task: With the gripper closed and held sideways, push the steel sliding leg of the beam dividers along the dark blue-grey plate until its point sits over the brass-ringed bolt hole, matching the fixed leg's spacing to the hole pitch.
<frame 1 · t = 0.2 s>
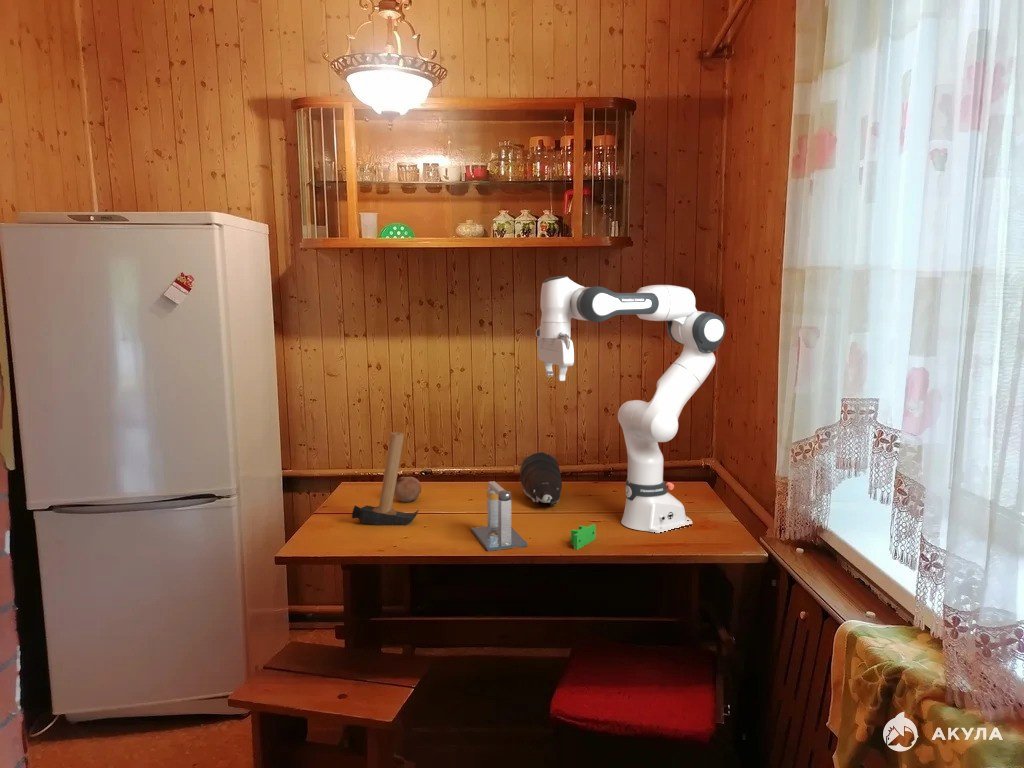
hand: (555, 378, 208), 48 cm above the table, tool pointing down, fingers open, 8 cm apart
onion: (407, 501, 249), on the table
sliding leg: (493, 509, 215), point 8 cm above the table, slide at 0.0 cm
bolt hole plate: (498, 538, 211), on the table
divider beam: (504, 545, 206), resting on bolt hole plate
pipe clamp: (581, 544, 208), on the table
dark brown oval body: (542, 501, 249), on the table
hammer: (385, 523, 225), on the table
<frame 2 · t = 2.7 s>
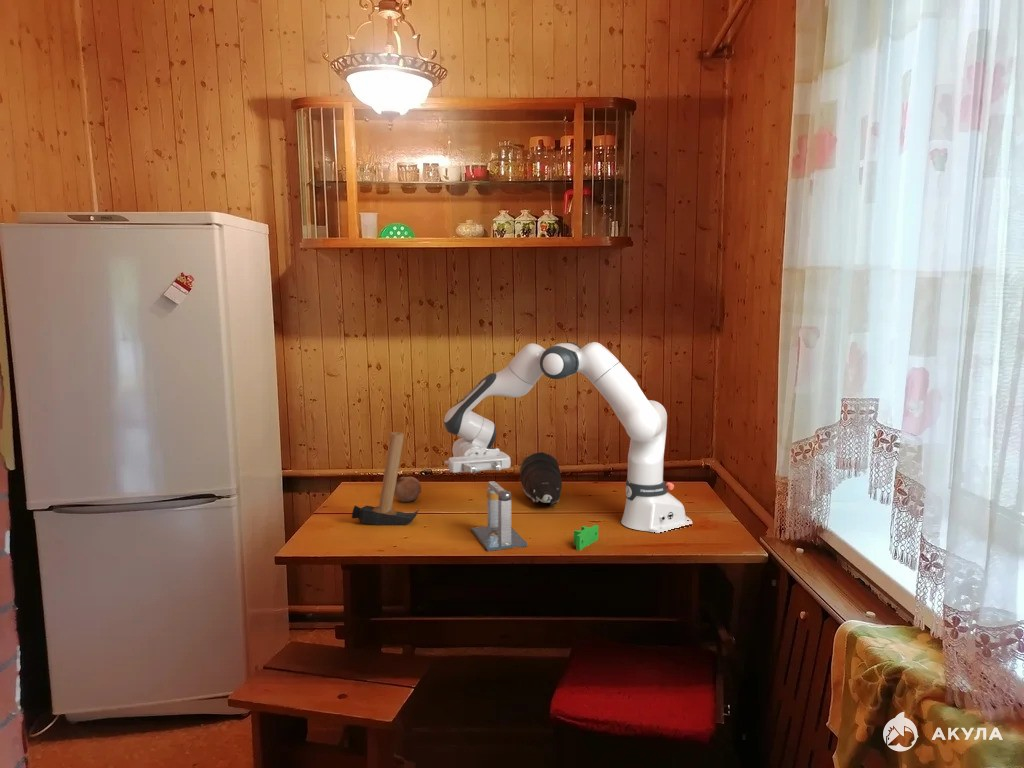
hand: (485, 469, 221), 18 cm above the table, tool horizontal, fingers open, 7 cm apart
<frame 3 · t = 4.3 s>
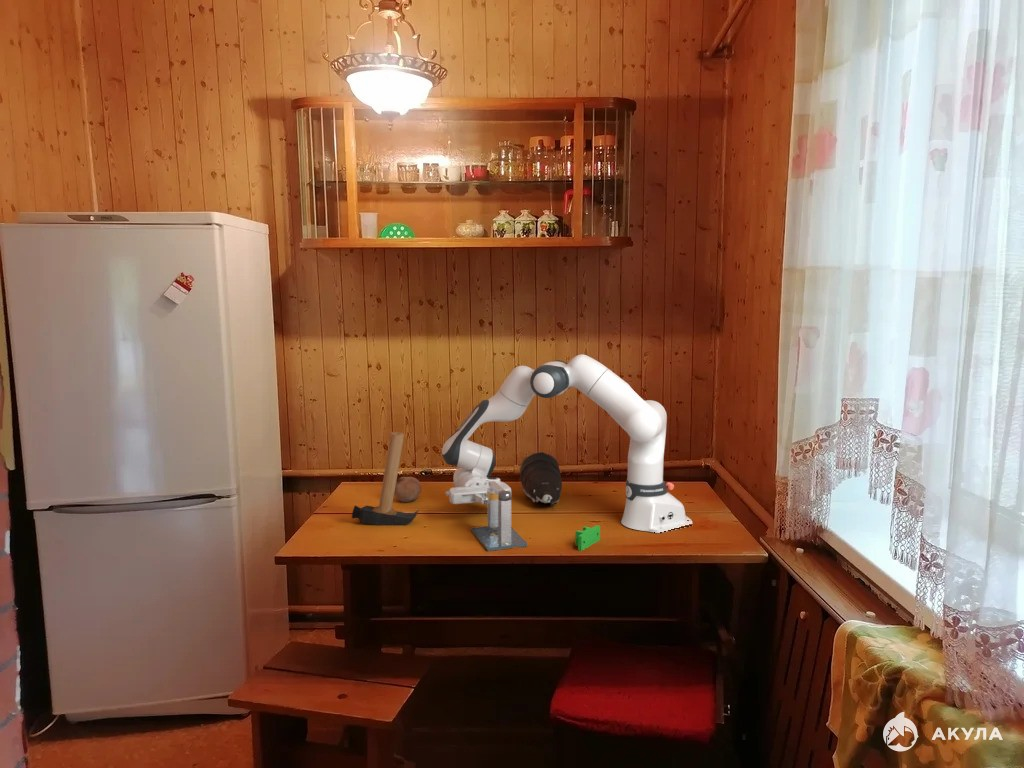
hand: (486, 501, 221), 8 cm above the table, tool horizontal, fingers closed
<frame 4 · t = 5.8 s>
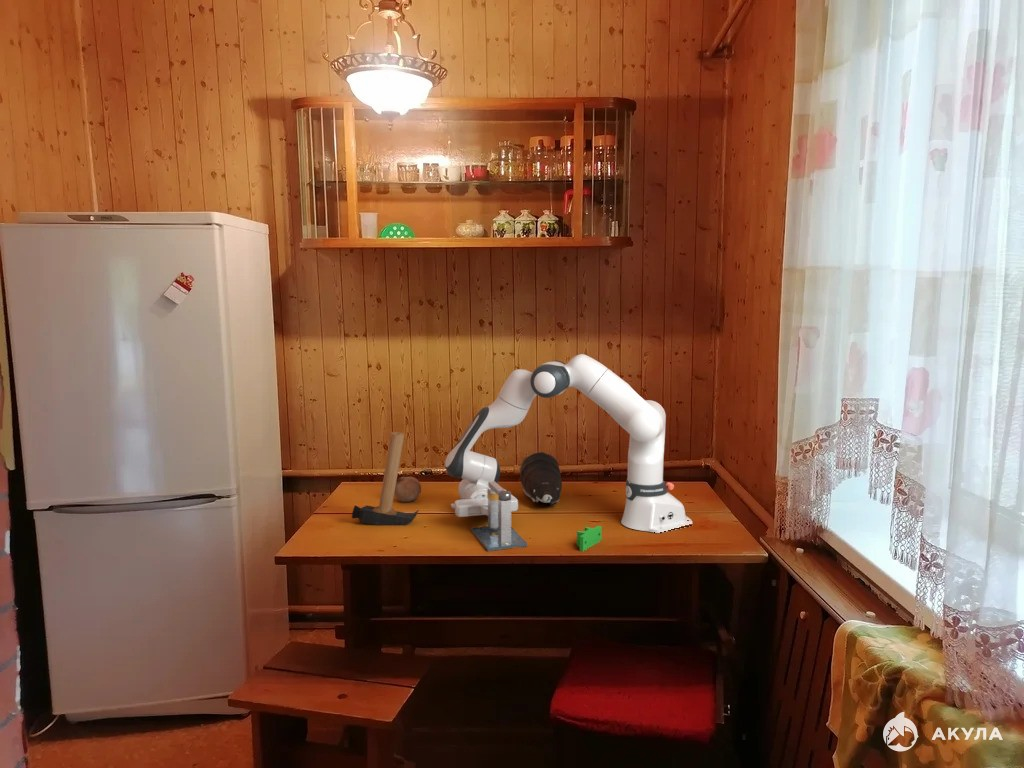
hand: (492, 513, 216), 6 cm above the table, tool horizontal, fingers closed, pressing on sliding leg
sliding leg: (494, 509, 215), point 8 cm above the table, slide at 0.5 cm, touching gripper
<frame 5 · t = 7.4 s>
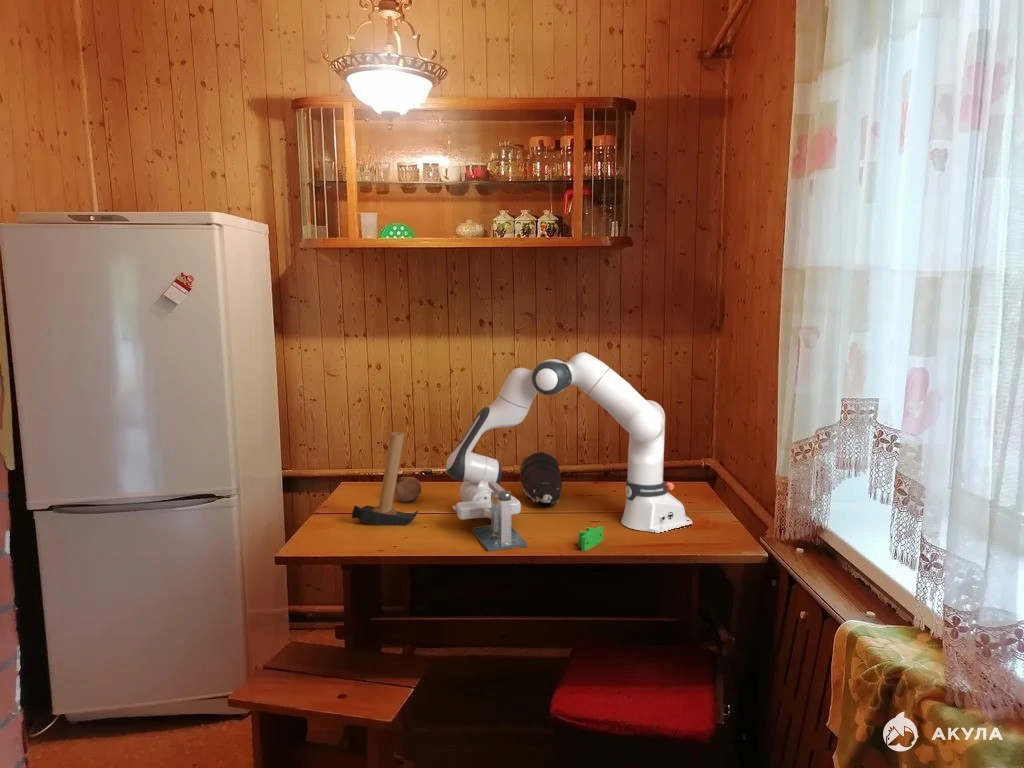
hand: (495, 516, 213), 6 cm above the table, tool horizontal, fingers closed
sliding leg: (497, 513, 211), point 8 cm above the table, slide at 4.0 cm
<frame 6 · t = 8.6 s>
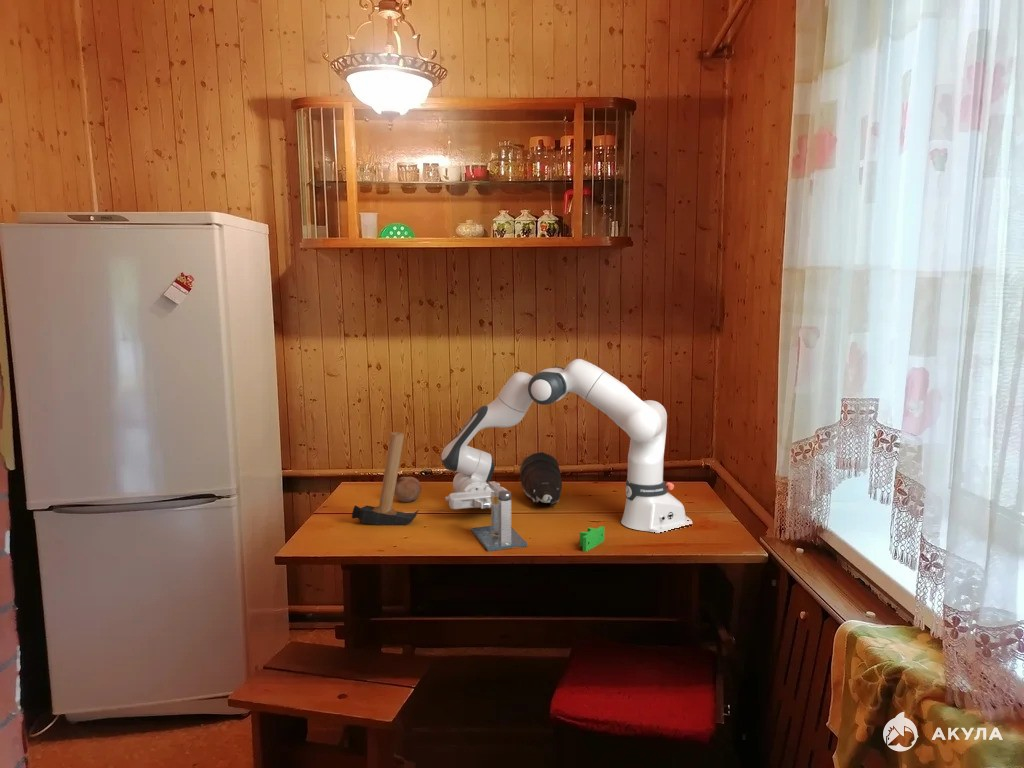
hand: (485, 506, 223), 6 cm above the table, tool horizontal, fingers closed
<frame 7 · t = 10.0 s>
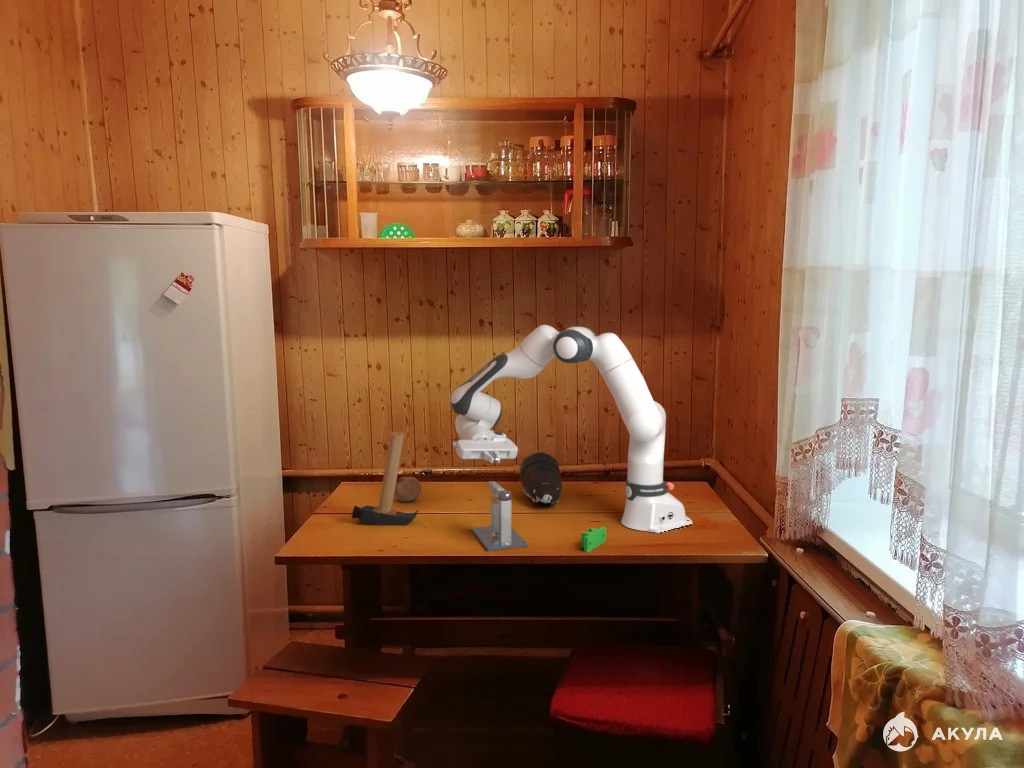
hand: (495, 461, 222), 20 cm above the table, tool tilted 75°, fingers closed
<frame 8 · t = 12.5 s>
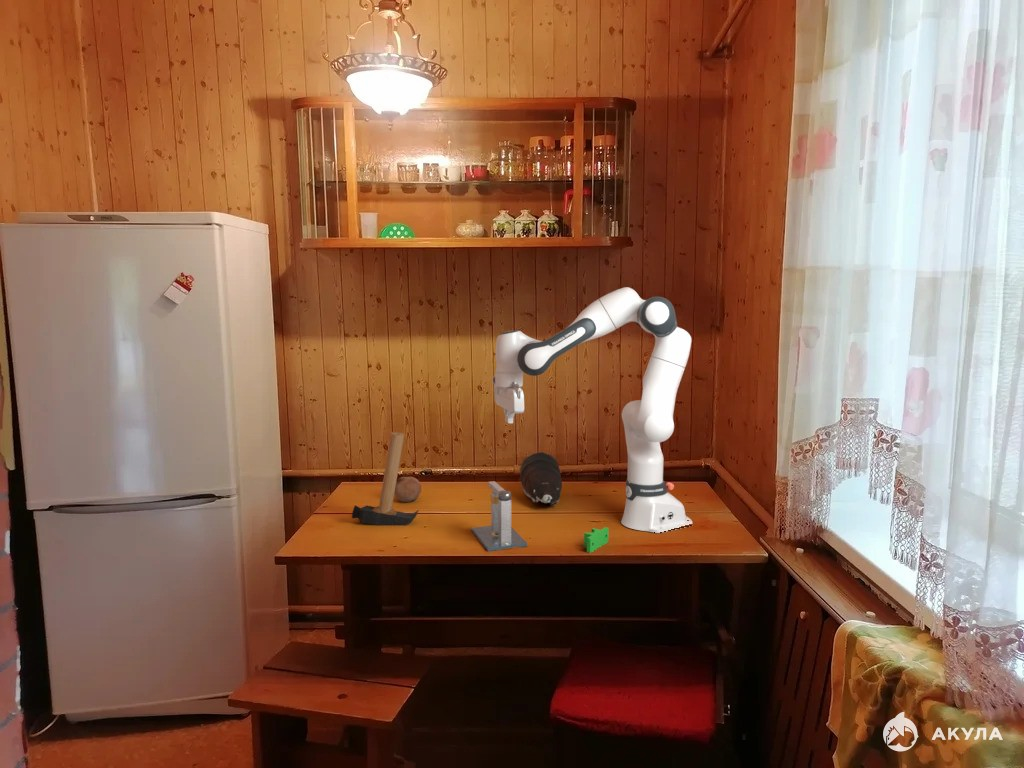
hand: (509, 422, 229), 31 cm above the table, tool pointing down, fingers closed
at the end: sliding leg slide at 4.0 cm; dark brown oval body moved 0.3 cm from its start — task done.
